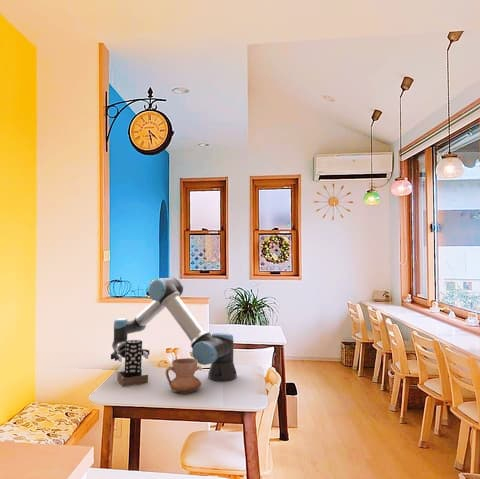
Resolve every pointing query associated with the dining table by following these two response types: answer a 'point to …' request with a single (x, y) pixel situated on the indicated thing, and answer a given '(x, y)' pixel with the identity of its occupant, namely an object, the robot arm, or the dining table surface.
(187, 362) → the ceramic jug
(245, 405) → the dining table surface
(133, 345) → the white-spotted black cylinder
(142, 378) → the tray
